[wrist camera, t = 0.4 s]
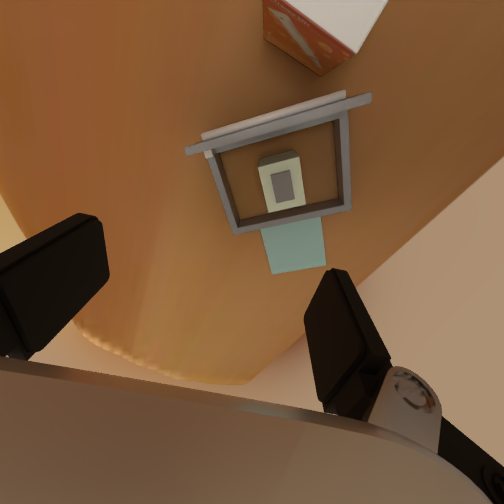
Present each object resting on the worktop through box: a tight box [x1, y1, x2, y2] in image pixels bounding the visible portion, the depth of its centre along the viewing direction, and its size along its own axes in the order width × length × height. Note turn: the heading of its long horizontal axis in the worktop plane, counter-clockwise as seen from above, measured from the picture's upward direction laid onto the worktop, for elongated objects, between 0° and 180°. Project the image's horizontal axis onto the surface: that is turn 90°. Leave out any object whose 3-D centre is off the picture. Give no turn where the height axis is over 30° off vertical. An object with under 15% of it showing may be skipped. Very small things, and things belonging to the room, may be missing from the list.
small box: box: [262, 0, 389, 77], centre depth 19 cm, size 8×6×13 cm
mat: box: [260, 217, 326, 274], centre depth 39 cm, size 10×10×1 cm
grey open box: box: [184, 89, 372, 235], centre depth 29 cm, size 18×15×10 cm
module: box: [258, 150, 306, 213], centre depth 31 cm, size 5×6×6 cm
